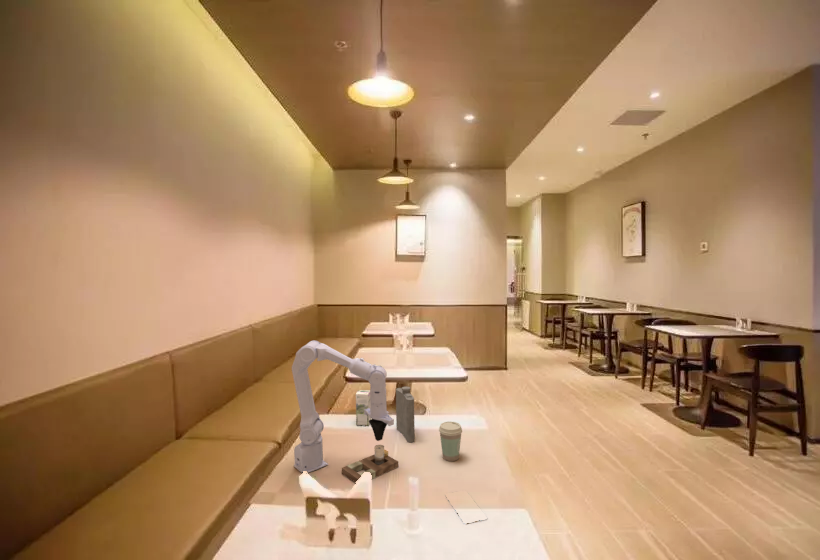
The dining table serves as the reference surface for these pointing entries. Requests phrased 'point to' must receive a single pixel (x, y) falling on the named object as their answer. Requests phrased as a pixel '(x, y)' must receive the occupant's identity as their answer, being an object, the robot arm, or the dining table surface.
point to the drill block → (369, 467)
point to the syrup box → (362, 407)
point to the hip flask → (405, 413)
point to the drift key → (385, 453)
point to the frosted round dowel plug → (379, 454)
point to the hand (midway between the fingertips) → (379, 439)
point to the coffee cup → (450, 440)
